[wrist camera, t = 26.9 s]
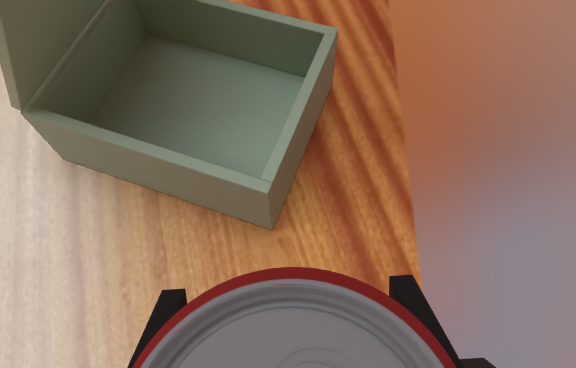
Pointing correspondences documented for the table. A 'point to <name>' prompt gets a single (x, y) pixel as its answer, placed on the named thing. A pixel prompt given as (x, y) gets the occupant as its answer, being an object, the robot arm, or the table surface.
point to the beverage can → (293, 326)
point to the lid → (38, 40)
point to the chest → (191, 100)
